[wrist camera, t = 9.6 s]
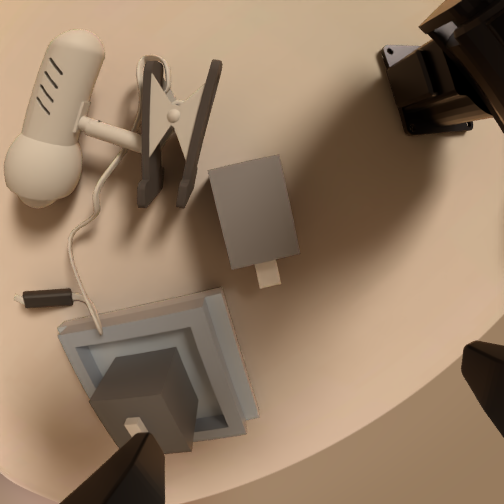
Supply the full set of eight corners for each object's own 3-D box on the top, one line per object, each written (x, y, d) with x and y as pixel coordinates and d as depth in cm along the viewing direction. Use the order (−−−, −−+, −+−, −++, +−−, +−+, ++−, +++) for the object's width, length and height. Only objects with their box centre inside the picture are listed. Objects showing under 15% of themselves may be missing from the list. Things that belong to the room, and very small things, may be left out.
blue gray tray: (221, 286, 19) (220, 302, 17) (258, 407, 21) (261, 431, 19) (64, 321, 19) (46, 337, 17) (118, 425, 21) (109, 446, 19)
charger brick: (176, 346, 19) (158, 401, 13) (198, 400, 20) (190, 458, 14) (115, 357, 19) (85, 407, 13) (141, 407, 20) (121, 461, 14)
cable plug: (271, 159, 18) (279, 154, 15) (294, 269, 19) (306, 286, 16) (212, 173, 18) (207, 170, 15) (239, 282, 19) (240, 302, 16)
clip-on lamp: (149, 316, 23) (242, 75, 16) (129, 378, 17) (246, 60, 10) (21, 263, 20) (72, 28, 13) (-21, 307, 14) (16, 10, 8)
